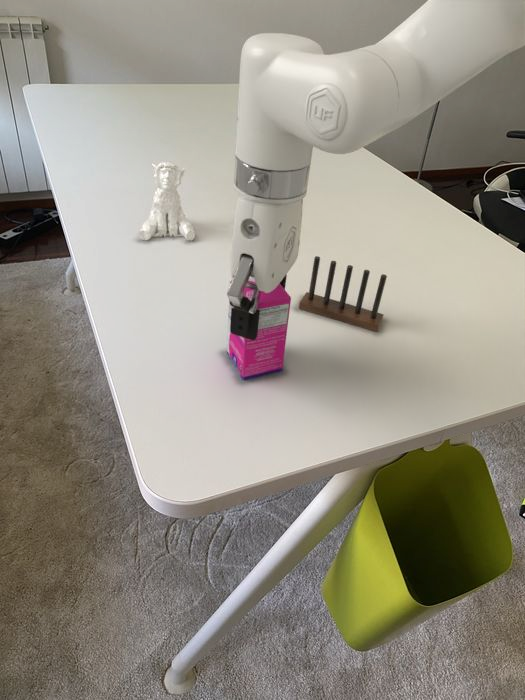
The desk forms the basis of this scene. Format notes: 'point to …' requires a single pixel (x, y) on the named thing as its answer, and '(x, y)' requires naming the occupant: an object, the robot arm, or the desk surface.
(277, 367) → the supplement box
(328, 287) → the rack
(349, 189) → the desk surface
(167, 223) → the white creature statuette
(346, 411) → the desk surface
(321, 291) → the desk surface
